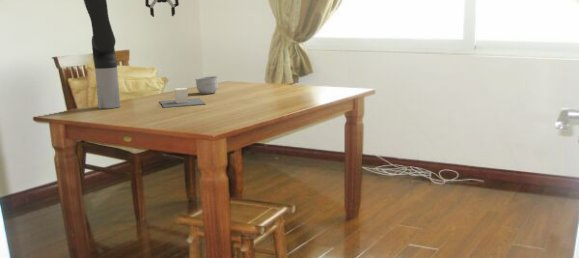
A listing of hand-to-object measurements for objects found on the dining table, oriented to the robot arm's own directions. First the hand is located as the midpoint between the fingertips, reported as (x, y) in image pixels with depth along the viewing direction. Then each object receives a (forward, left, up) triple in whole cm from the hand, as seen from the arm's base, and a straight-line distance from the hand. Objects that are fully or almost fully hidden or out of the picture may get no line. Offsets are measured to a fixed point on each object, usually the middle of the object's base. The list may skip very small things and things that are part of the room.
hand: (163, 16), depth 266 cm
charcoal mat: (+5, -8, -38) cm, 39 cm away
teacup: (+22, +20, -38) cm, 48 cm away
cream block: (+5, -8, -38) cm, 39 cm away
